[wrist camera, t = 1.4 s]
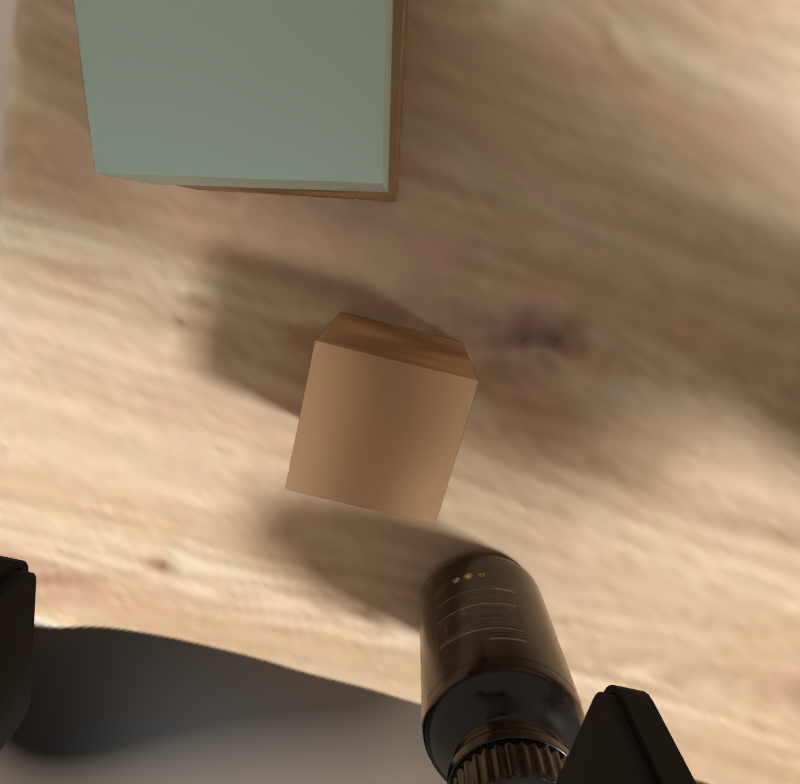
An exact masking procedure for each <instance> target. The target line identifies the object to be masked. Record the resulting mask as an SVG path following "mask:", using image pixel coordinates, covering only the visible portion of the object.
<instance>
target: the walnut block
mask: <svg viewBox="0 0 800 784" xmlns="http://www.w3.org/2000/svg"><path fill="white" fill-rule="evenodd" d="M478 382H479V380H478V378H477V375H476V373H475V371H474V369H473V366H472V364H471V362H470V359H469V357H468V355H467V353H466V350H465V348H464V346H463V344H462V342H459V341H455V340H451V339H447V338H443V337H439V336H435V335H431V334H427V333H423V332H419V331H414V330H410V329H406V328H402V327H398V326H394V325H390V324H386V323H382V322H378V321H374V320H370V319H366V318H362V317H358V316H354V315H350V314H346V313H342V312H341V313H340V314H339V315H338V316H337V317H336V318H335V319H334V321H333V322H332V323H331V324H330V325H329V326H328V327H327V328H326V329H325V330H324V331H323V333H322V334H321V335H320V336H319V337H318V338H317V339H316V340H315V344H314V349H313V353H312V358H311V363H310V368H309V373H308V378H307V383H306V388H305V393H304V398H303V403H302V408H301V413H300V418H299V423H298V428H297V433H296V438H295V443H294V447H293V452H292V457H291V462H290V467H289V472H288V477H287V482H286V487H285V489H286V490H290V491H294V492H299V493H303V494H307V495H312V496H316V497H320V498H324V499H329V500H333V501H337V502H342V503H346V504H350V505H355V506H359V507H363V508H368V509H372V510H376V511H380V512H385V513H389V514H393V515H398V516H402V517H406V518H411V519H415V520H419V521H424V522H428V523H432V524H436V521H437V518H438V515H439V511H440V508H441V505H442V501H443V498H444V495H445V492H446V488H447V485H448V482H449V478H450V475H451V472H452V468H453V465H454V462H455V458H456V455H457V452H458V449H459V445H460V442H461V439H462V435H463V432H464V429H465V425H466V422H467V419H468V415H469V412H470V409H471V406H472V402H473V399H474V396H475V392H476V389H477V386H478Z"/></svg>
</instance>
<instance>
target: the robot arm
mask: <svg viewBox="0 0 800 784" xmlns="http://www.w3.org/2000/svg"><path fill="white" fill-rule="evenodd" d="M35 593H36V576H35V574H34V573H31V572H28V565H27V563H26V562H25V561H22V560H18V559H13V558H8V557H4V556H0V750H1V749H2V747H3V746H4V744H5V743H6V742H7V741H8V740H9V738H10V737H11V736H12V735H13V733H14V732H15V731H16V729H17V728H18V727H19V725H20V724H21V722H22V720H23V718H24V717H25V714H26V712H27V710H28V707H29V703H30V691H31V672H32V653H33V652H32V651H33V633H34V613H35ZM555 784H696V782H695V780H694V778H693V776H692V775H691V773H690V771H689V769H688V767H687V765H686V763H685V761H684V759H683V757H682V755H681V754H680V752H679V750H678V748H677V746H676V744H675V742H674V740H673V738H672V736H671V734H670V733H669V731H668V729H667V727H666V725H665V723H664V721H663V719H662V717H661V715H660V714H659V712H658V710H657V708H656V706H655V704H654V702H653V700H652V699H651V697H650V696H649V695H648V694H647V693H646V692H644V691H640V690H635V689H630V688H626V687H621V686H616V685H609V686H608V687H607V688H606V689H605V691H604V692H598V693H597V694H596V695H595V697H594V699H593V701H592V703H591V705H590V707H589V710H588V712H587V714H586V716H585V719H584V721H583V723H582V725H581V727H580V730H579V732H578V734H577V736H576V738H575V741H574V743H573V745H572V747H571V750H570V752H569V754H568V756H567V758H566V761H565V763H564V765H563V767H562V769H561V772H560V774H559V776H558V778H557V781H556V783H555Z"/></svg>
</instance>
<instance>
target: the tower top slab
mask: <svg viewBox="0 0 800 784" xmlns="http://www.w3.org/2000/svg"><path fill="white" fill-rule="evenodd" d="M74 8H75V16H76V24H77V32H78V40H79V48H80V56H81V64H82V72H83V80H84V88H85V96H86V104H87V112H88V121H89V129H90V137H91V145H92V153H93V161H94V169H95V173H97V174H103V175H108V176H113V177H119V178H124V179H130V180H135V181H140V182H146V183H151V184H163V185H191V186H220V187H248V188H276V189H305V190H333V191H361V192H388V178H389V140H390V103H391V65H392V27H393V0H74Z"/></svg>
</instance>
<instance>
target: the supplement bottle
mask: <svg viewBox="0 0 800 784" xmlns="http://www.w3.org/2000/svg"><path fill="white" fill-rule="evenodd" d="M420 655H421V704H422V732H423V740H424V745H425V748H426V751H427V754H428V756H429V758H430V760H431V762H432V764H433V766H434V767H435V769H436V770H437V772H438V773H439V774H440V775H441V777H442V778H443V779H444V780H445V781H446V782H447V784H555V783H556V781H557V778H558V776H559V774H560V772H561V769H562V767H563V765H564V763H565V761H566V758H567V756H568V754H569V752H570V750H571V747H572V745H573V743H574V741H575V738H576V736H577V734H578V732H579V730H580V727H581V725H582V723H583V721H584V719H585V715H584V712H583V708H582V705H581V702H580V699H579V696H578V693H577V691H576V688H575V685H574V682H573V680H572V677H571V674H570V671H569V669H568V666H567V663H566V661H565V658H564V655H563V652H562V650H561V647H560V644H559V641H558V639H557V636H556V633H555V630H554V628H553V625H552V622H551V620H550V617H549V614H548V611H547V609H546V606H545V603H544V601H543V598H542V596H541V593H540V591H539V588H538V587H537V585H536V583H535V581H534V580H533V578H532V577H531V576H530V575H529V573H528V572H527V571H525V570H524V569H523V568H522V567H521V566H519V565H518V564H516V563H515V562H513V561H511V560H509V559H506V558H503V557H500V556H497V555H491V554H472V555H467V556H463V557H460V558H457V559H455V560H452V561H450V562H449V563H447V564H445V565H444V566H442V567H441V568H440V569H439V570H438V571H436V573H435V574H434V575H433V576H432V577H431V578H430V580H429V581H428V583H427V584H426V586H425V589H424V591H423V594H422V597H421V603H420Z"/></svg>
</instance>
